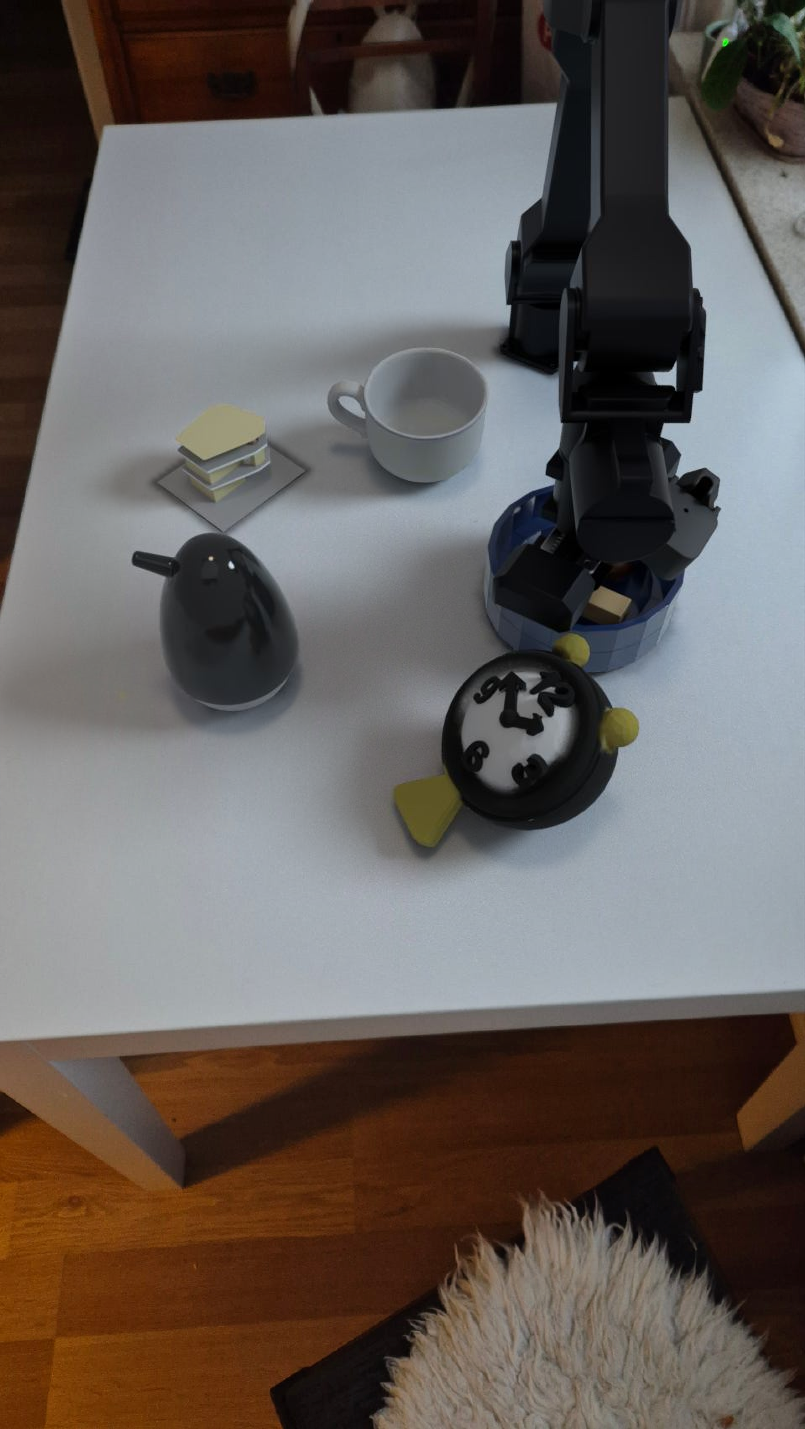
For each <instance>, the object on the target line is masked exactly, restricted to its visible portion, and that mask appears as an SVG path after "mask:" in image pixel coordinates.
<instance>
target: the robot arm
mask: <svg viewBox="0 0 805 1429" xmlns="http://www.w3.org/2000/svg"><path fill="white" fill-rule="evenodd" d="M683 5H684V0H542V13H543V17H544V19H545V21H546V24H547V26H548V27H549V28H550V44H551V48H550V49H551V56H552V58H553V59H554V61H555V63H556V64H557V66H558V68H559V70H560V71H561V77H560V82H559V87H558V88H559V89H558V93H557V94H558V95H557V100H556V107H555V112H554V113H555V114H554V119H553V125H552V126H553V127H552V132H551V137H550V138H551V139H550V145H549V152H548V158H547V163H546V170H545V176H544V183H543V189H542V194H541V197H540V198H539V199H538V200H537V201H535V203H533V204H532V205H531V206H530V207H528V208H527V209H526V210H525V211H524V212H523V213H521V215H520V217H519V224H518V230H517V235H516V240H510V241H509V243H508V246H507V248H506V250H505V255H504V256H505V258H504V274H503V275H504V276H503V277H504V291H505V292H504V293H505V305H506V306H510V312H509V323H508V332H507V333H508V336H507V337H506V338H505V339H504V340H503V341H502V343H501V344H500V345H499V352H500V353H501V354H503V355H506V356H509V357H511V358H513V359H516V360H519V361H521V362H524V363H526V364H527V365H528V364H529V365H531V366H533V367H536V368H539V369H541V370H543V371H545V372H548V373H550V374H556V373H558V397H557V398H558V411H559V420H560V424H561V433H560V440H559V446H558V448H557V450H556V451H555V452H554V454H552V456H551V457H550V459H549V460H548V461H547V463H546V466H545V476H547V477H548V478H551V479H554V483H553V485H554V491H553V492H552V494H551V495H550V496H549V498H548V499H547V500H546V502H545V503H544V504H543V506H542V507H541V514H540V517H541V518H543V519H546V520H548V521H550V522H553V523H555V524H557V525H556V526H555V528H554V529H553V530H552V532H551V533H550V535H549V536H548V537H545V536H542V535H539V537H538V538H537V539H536V541H535V542H534V543H533V545H532V544H529V543H527V544H524V545H521V546H517V547H516V548H515V549H514V551H513V552H512V553H511V555H510V556H509V557H508V559H507V560H506V561H505V563H504V564H503V565H502V567H501V568H500V569H499V571H498V572H497V573H496V575H495V576H494V577H493V584H492V597H493V600H494V603H495V604H497V605H499V606H501V607H503V608H505V609H508V610H510V611H512V612H514V613H516V614H518V615H521V616H523V617H525V618H527V619H529V620H531V621H534V622H536V623H538V624H540V625H542V626H544V627H546V628H549V629H551V630H553V631H555V632H557V633H563V632H568V631H570V630H571V629H572V627H573V626H574V624H575V623H576V621H577V620H578V618H579V617H580V615H581V614H582V612H583V611H584V609H585V608H586V607H587V605H588V602H589V600H590V598H591V596H592V593H593V592H594V591H596V590H598V589H599V588H600V586H601V585H602V583H603V582H604V580H605V579H606V577H607V576H608V574H609V573H610V571H611V570H612V568H613V566H612V565H609V564H607V563H605V562H604V561H606V562H612V563H623V562H631V561H635V560H640V561H642V562H643V563H644V564H646V565H647V566H649V567H650V568H651V569H653V570H654V572H655V574H656V575H657V576H659V577H660V578H662V579H664V580H673V579H675V578H676V577H677V576H678V575H679V574H680V573H681V572H682V571H683V570H684V569H685V570H686V569H687V568H688V567H689V566H690V565H691V564H692V563H693V562H694V561H696V559H697V558H698V557H700V556H701V554H702V552H703V551H704V549H705V548H706V546H707V544H708V542H709V540H711V537H713V534H714V533H715V531H716V530H717V528H718V525H719V521H718V520H719V519H718V518H719V514H720V512H721V511H722V507H720V506H718V505H715V502H716V501H717V499H718V497H719V491H720V486H721V485H720V484H721V478H720V477H719V476H718V475H716V474H715V473H714V472H712V471H711V470H710V469H708V468H707V467H702V468H698V469H694V470H691V471H688V472H685V473H683V474H682V475H681V476H680V477H679V476H678V475H677V473H678V469H679V465H680V461H681V458H682V453H681V452H680V451H679V449H678V448H677V446H676V444H675V442H674V441H673V440H671V439H668V438H665V437H663V436H662V432H663V429H664V425H665V424H691V421H692V414H693V405H694V395H695V394H699V393H701V392H703V388H704V386H703V385H704V373H705V372H704V370H705V369H704V368H705V354H706V353H705V351H706V334H707V333H706V332H707V310H706V309H705V307H704V306H703V305H704V297H703V296H701V291H700V290H699V288H697V287H694V281H693V280H694V278H693V262H692V260H693V259H692V258H693V257H692V247H691V245H690V243H689V242H688V240H687V239H686V237H685V236H684V234H683V233H682V231H681V230H680V229H679V227H678V226H677V224H676V222H675V221H674V220H673V218H672V217H671V215H670V204H669V125H670V124H669V122H670V121H669V113H670V112H669V106H670V105H669V100H670V99H669V98H670V97H669V96H670V95H669V90H670V86H669V81H670V80H669V78H670V73H669V72H670V69H669V68H670V63H669V62H670V59H669V58H670V57H669V56H670V52H669V51H670V50H669V48H670V39H671V37H672V34H673V31H674V30H675V29H677V28H679V27H680V25H681V17H682V11H683ZM574 362H575V363H576V362H577V364H576V365H575V363H574ZM574 365H575V366H574ZM675 366H676V367H675ZM674 367H675V368H676V369H675V386H674V385H673V384H658V383H657V381H656V377H655V375H654V373H669V372H671V371H673V368H674Z"/></svg>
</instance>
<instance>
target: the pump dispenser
mask: <svg viewBox="0 0 805 1429" xmlns="http://www.w3.org/2000/svg"><path fill="white" fill-rule="evenodd" d="M130 560H131V564H132V566H133V567H135V568H139V569H142V570H144V571H146V572H147V571H148V572H149V573H153V574H156V575H159V576H162V577H164V581H163V584H162V588H161V594H160V600H159V608H158V609H159V610H158V627H159V639H160V646H161V652H162V657H163V660H164V664H165V668H166V669H167V671H168V674H169V676H170V678H171V679H172V681H173V682H174V683H175V686H177V688H179V689H180V690H181V691H182V692H184V693H185V694H186V695H188V697H191V698H193V699H194V700H195V701H197V702H198V703H201V704H203V705H204V706H206V707H209V708H212V709H215V710H220V711H227V712H237V711H244V710H249V709H252V708H256V707H258V706H260V705H262V704H263V703H266V702H267V701H268V700H270V699H272V698H273V697H274V696H275V695H276V694H277V693H279V691H280V690H281V689H282V688H283V687H284V685H285V684H286V682H287V681H288V679H289V677H290V675H291V673H292V671H293V670H294V668H295V666H296V664H297V661H298V658H299V653H300V636H299V631H298V626H297V623H296V620H295V617H294V614H293V611H292V609H291V607H290V604H289V602H288V600H287V598H286V595H285V594H284V591H283V590H282V588H281V586H280V585H279V583H278V582H277V580H276V578H275V577H274V576H273V574H272V573H271V571H270V570H269V569H268V567H267V566H266V565H265V564H264V563H263V561H262V560H261V559H260V558H259V557H258V556H257V555H256V554H255V552H253V550H251V549H250V548H249V547H248V546H247V545H245V544H244V543H243V542H241V541H239V540H238V539H236V538H234V537H232V536H230V535H227V534H225V533H220V532H204V533H200V534H196V535H194V536H192V537H191V538H189V539H187V541H184V543H183V544H182V545H181V547H180V548H179V549H178V550H177V552H176V553H175V555H174V556H168V555H163V554H157V553H152V552H147V551H141V550H135V551H133V553H132V555H131V559H130Z"/></svg>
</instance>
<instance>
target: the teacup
mask: <svg viewBox="0 0 805 1429" xmlns="http://www.w3.org/2000/svg"><path fill="white" fill-rule="evenodd" d="M341 397H348V398H352V399H354V400H355V401H356V402H357V403H358V404H359V407H360V409H361V410H362V411H363V412H364V415H365V417H364V418H363V417H361V416H359V415H356V414H355V413H353V412H352V411H350V410H348V409H347V408H345V407H344V406H343V404H341V402H340V400H339V399H340V398H341ZM326 399H327V401H326V404H327V408H328V411H329V413H330V414H331V416H332V417H333V418H334V419H335V420H336V421H337V422H338V423H340V424H342V425H343V426H345V427H346V428H349V429H351V430H353V431H355V432H357V433H359V435H360V436H361V437H362V438H363V439H364V440H367V441H368V444H369V447H370V450H371V453H372V454H373V456H374V458H375V460H376V461H377V463H378V464H379V465H380V466H381V467H382V468H384V469H385V470H386V471H387V472H389V473H390V474H392V475H393V476H395V477H398V478H400V479H402V480H406V481H409V482H413V483H414V482H415V483H435V482H441V481H445V480H448V479H449V478H452V477H454V476H456V475H458V474H459V473H461V472H462V471H464V470H465V469H466V468H467V467H468V466H469V465H470V464H471V463H472V462H473V460H474V459H475V457H476V456H477V454H478V453H479V450H480V447H481V444H482V440H483V435H484V430H485V422H486V411H487V406H488V402H489V385H488V381H487V379H486V377H485V375H484V373H483V372H482V371H481V369H480V368H479V367H478V366H477V365H476V364H474V362H473V361H471V360H469V359H468V358H467V357H465V356H463V355H461V354H459V353H456V352H453V351H451V350H448V349H443V348H438V347H430V346H429V347H427V346H426V347H413V348H408V349H403V350H400V351H397V352H394V353H392V354H390V355H388V356H387V357H385V358H383V359H382V360H381V361H379V362H378V363H377V364H376V365H375V366H374V367H373V368H372V370H371V371H370V372H369V374H368V376H367V377H366V379H365V382H364V385H362V384H360V383H359V382H356V381H353V380H347V379H346V380H345V379H343V380H339V381H337V382H336V383H334V384H332V386H331V388H330V389H329V391H328V393H327V398H326Z"/></svg>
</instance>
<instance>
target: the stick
mask: <svg viewBox="0 0 805 1429" xmlns="http://www.w3.org/2000/svg"><path fill="white" fill-rule="evenodd" d="M630 604H631V599H629V598H627V597H625V596H622V595H620V594H618V593H616V592H613V591H611V590H609V589H606V588H604V587H602V586H600V588H599V589H598V590H596V591H594V592H593V593H592V596H591V598H590V600H589V602H588V605H587V607H586V608H585V609H584V611H583V612H582V614H581V615H580V616H583V617H585V618H587V619H589V620H592V621H594V622H596V623H598V624H600V625H613V624H618V623H621V622H624V620H625V619H626V617H627V615H628V612H629V608H630Z"/></svg>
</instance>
